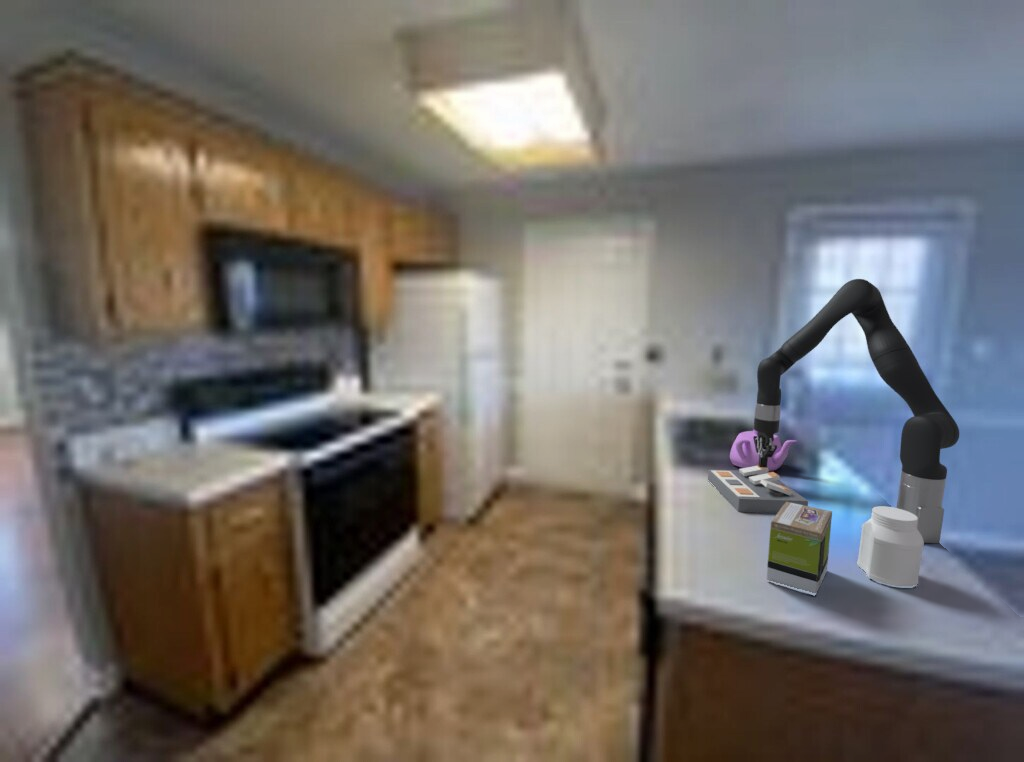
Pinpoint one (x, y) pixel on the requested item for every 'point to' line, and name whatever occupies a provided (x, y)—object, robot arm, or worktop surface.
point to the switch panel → (751, 492)
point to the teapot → (747, 456)
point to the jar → (891, 547)
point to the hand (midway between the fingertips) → (762, 467)
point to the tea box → (799, 546)
